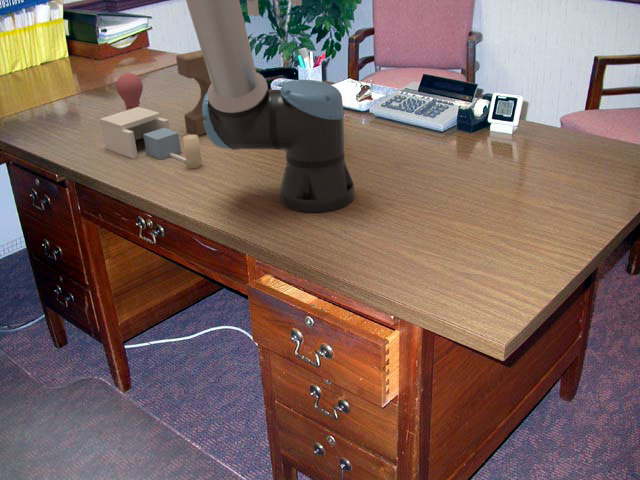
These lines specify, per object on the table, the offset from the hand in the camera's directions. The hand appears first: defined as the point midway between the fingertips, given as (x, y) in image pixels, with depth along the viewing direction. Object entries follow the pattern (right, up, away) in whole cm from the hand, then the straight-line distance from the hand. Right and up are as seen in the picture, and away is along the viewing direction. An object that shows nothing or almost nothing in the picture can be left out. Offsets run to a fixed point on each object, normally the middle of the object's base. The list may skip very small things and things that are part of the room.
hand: (275, 10), depth 159 cm
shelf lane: (-35, -28, +18) cm, 49 cm away
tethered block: (-24, -32, +9) cm, 41 cm away
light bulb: (-42, -17, +40) cm, 60 cm away
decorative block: (-19, -23, +27) cm, 40 cm away
